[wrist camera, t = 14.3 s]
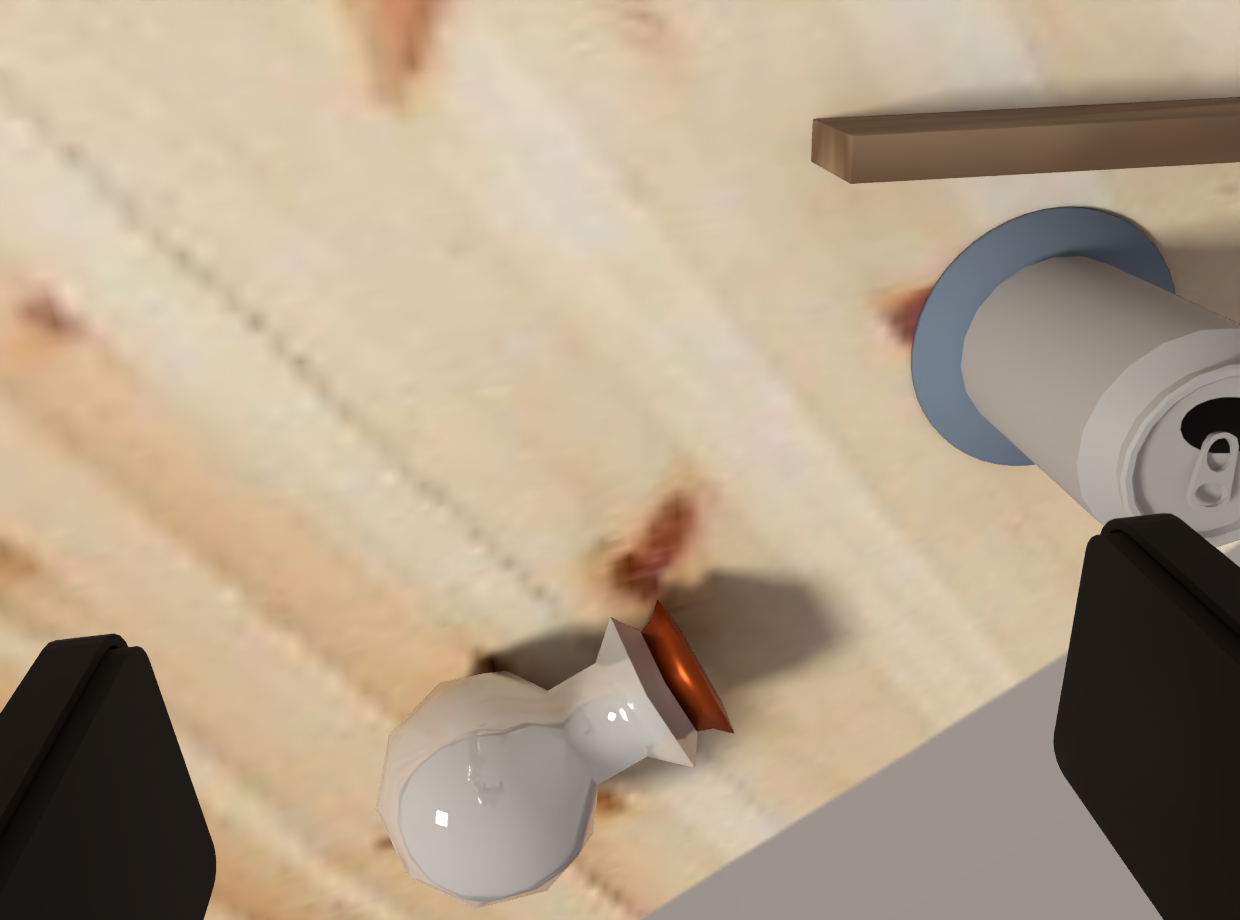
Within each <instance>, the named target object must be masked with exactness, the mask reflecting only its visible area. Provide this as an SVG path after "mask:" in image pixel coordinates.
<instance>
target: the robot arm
mask: <svg viewBox="0 0 1240 920" xmlns="http://www.w3.org/2000/svg"><path fill="white" fill-rule="evenodd" d="M1054 751H1055V755H1056V759H1057V762H1058V765H1059V767H1060V769H1061V771H1062V773H1063V775H1064V776H1065V778H1066V779H1067V781H1068V782H1069V783H1070V785H1071V786H1072V788H1073V789H1074V791H1075V792H1076V794H1077V795H1078V796H1079V798H1080V799H1081V801H1082V802H1083V804H1084V805H1085V806H1086V808H1087V810H1088V811H1089V812H1090V814H1091V815H1092V817H1093V818H1094V820H1095V821H1096V823H1097V824H1098V825H1099V827H1100V828H1101V830H1102V831H1103V833H1104V834H1105V835H1106V837H1107V839H1108V840H1109V841H1110V843H1111V844H1112V846H1113V847H1114V849H1115V850H1116V851H1117V853H1118V854H1119V855H1120V857H1121V859H1122V860H1123V862H1124V863H1125V865H1126V866H1127V867H1128V869H1129V870H1130V872H1131V873H1132V875H1133V876H1134V878H1135V879H1136V880H1137V882H1138V883H1139V885H1140V886H1141V888H1142V889H1143V891H1144V892H1145V893H1146V895H1147V896H1148V898H1149V899H1150V901H1151V902H1152V904H1153V905H1154V906H1155V908H1156V909H1157V911H1158V912H1159V914H1160V915H1161V916H1162V918H1163V919H1164V920H1240V567H1238V566H1237V565H1236V564H1235V563H1234V562H1232V561H1231V560H1230V559H1229V558H1228V557H1226V556H1225V555H1224V554H1223V553H1222V552H1220V551H1219V550H1218V549H1217V548H1216V547H1214V546H1213V545H1212V544H1211V543H1209V542H1208V541H1207V540H1206V539H1205V538H1203V537H1202V536H1201V535H1200V534H1198V533H1197V532H1196V531H1195V530H1194V529H1192V528H1191V527H1190V526H1189V525H1187V524H1186V523H1185V522H1184V521H1183V520H1181V519H1180V518H1179V517H1177V516H1175V515H1173V514H1171V513H1159V514H1150V515H1141V516H1133V517H1124V518H1115V519H1112V520H1110V521H1108V522H1107V523H1106V524H1105V526H1104V527H1103V528H1102V531H1101V534H1100V535H1095V536H1093V537H1092V538H1091V539H1090V540H1089V542H1088V544H1087V547H1086V551H1085V557H1084V563H1083V569H1082V575H1081V580H1080V586H1079V592H1078V598H1077V604H1076V610H1075V615H1074V621H1073V627H1072V633H1071V639H1070V644H1069V650H1068V656H1067V662H1066V668H1065V674H1064V679H1063V685H1062V691H1061V697H1060V703H1059V709H1058V714H1057V720H1056V726H1055V732H1054ZM215 876H216V855H215V849H214V845H213V842H212V839H211V836H210V833H209V830H208V827H207V824H206V821H205V819H204V816H203V813H202V810H201V807H200V804H199V801H198V798H197V796H196V793H195V790H194V787H193V784H192V781H191V778H190V776H189V773H188V770H187V767H186V764H185V761H184V758H183V755H182V753H181V750H180V747H179V744H178V741H177V738H176V735H175V732H174V730H173V727H172V724H171V721H170V718H169V715H168V712H167V709H166V707H165V704H164V701H163V698H162V695H161V692H160V689H159V686H158V684H157V681H156V678H155V675H154V672H153V669H152V666H151V663H150V661H149V658H148V656H147V654H146V652H145V651H144V650H143V649H142V648H141V647H138V646H135V647H128V645H127V643H126V642H125V640H124V639H123V638H122V637H121V636H120V635H117V634H106V635H98V636H89V637H80V638H71V639H63V640H55V641H53V642H50V643H48V644H47V645H46V647H45V648H44V649H43V650H42V651H41V653H40V654H39V656H38V657H37V659H36V660H35V662H34V663H33V665H32V666H31V668H30V669H29V671H28V672H27V674H26V675H25V677H24V679H23V680H22V682H21V683H20V685H19V686H18V688H17V689H16V691H15V692H14V694H13V695H12V697H11V698H10V700H9V701H8V703H7V704H6V706H5V707H4V709H3V710H2V712H1V713H0V920H204V916H205V913H206V910H207V907H208V903H209V900H210V897H211V894H212V890H213V887H214V882H215Z"/></svg>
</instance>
